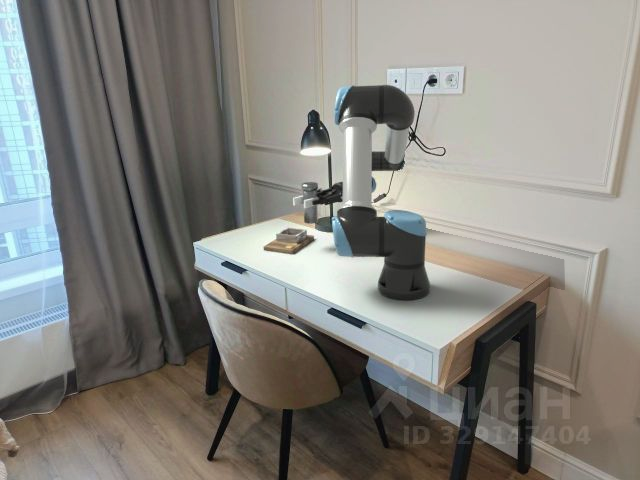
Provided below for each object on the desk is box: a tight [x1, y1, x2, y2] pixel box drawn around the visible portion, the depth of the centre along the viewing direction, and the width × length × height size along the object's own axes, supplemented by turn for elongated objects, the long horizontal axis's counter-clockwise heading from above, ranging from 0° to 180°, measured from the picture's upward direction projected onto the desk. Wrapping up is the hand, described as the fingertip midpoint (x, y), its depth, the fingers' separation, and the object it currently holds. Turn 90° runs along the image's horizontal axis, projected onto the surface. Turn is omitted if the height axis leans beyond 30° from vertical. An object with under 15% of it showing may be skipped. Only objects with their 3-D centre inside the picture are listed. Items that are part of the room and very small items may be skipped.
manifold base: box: [263, 227, 315, 255], centre depth 182 cm, size 18×12×4 cm, turn 155°
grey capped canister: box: [301, 181, 319, 225], centre depth 172 cm, size 6×6×14 cm
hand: (299, 203), depth 169 cm, fingers closed on grey capped canister, 5 cm apart
